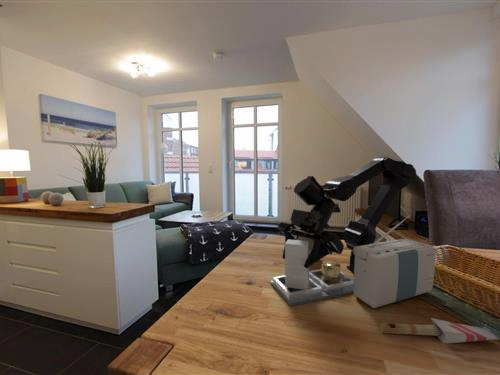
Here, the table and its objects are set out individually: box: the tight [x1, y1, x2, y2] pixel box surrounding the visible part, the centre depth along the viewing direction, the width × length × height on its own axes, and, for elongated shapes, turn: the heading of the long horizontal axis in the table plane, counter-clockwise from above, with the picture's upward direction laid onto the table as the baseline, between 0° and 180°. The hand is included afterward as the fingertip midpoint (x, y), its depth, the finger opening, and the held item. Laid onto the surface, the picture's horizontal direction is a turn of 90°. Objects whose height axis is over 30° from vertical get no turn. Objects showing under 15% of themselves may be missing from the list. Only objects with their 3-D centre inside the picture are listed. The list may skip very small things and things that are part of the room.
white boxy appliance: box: [352, 215, 436, 309], centre depth 61 cm, size 21×8×20 cm, turn 112°
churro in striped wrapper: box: [379, 317, 499, 344], centre depth 47 cm, size 4×3×20 cm
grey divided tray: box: [269, 260, 354, 307], centre depth 66 cm, size 21×12×6 cm, turn 109°
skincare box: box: [284, 239, 310, 290], centre depth 64 cm, size 6×4×12 cm
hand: (293, 262), depth 63 cm, fingers closed on skincare box, 7 cm apart
